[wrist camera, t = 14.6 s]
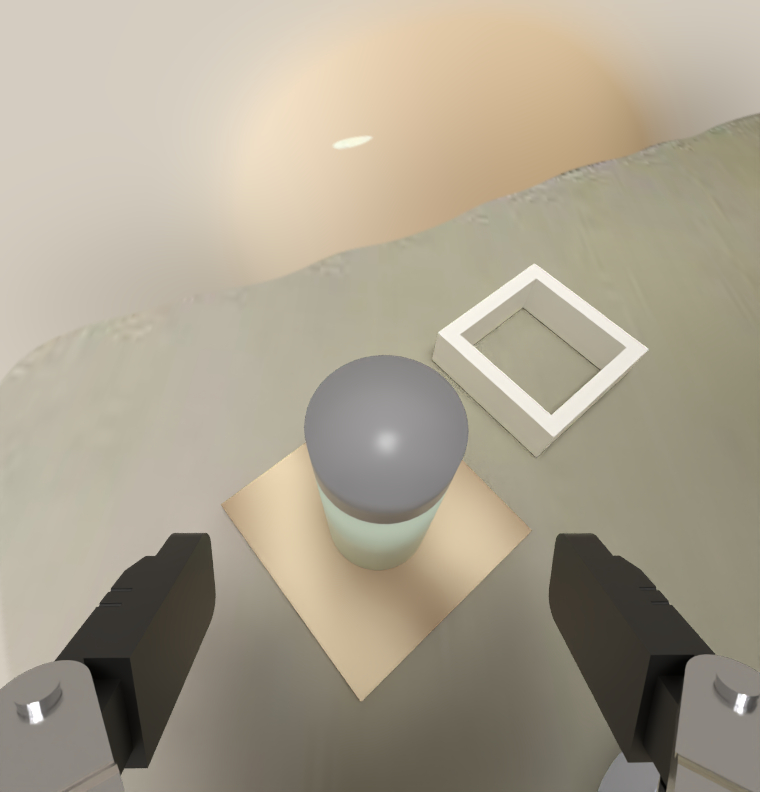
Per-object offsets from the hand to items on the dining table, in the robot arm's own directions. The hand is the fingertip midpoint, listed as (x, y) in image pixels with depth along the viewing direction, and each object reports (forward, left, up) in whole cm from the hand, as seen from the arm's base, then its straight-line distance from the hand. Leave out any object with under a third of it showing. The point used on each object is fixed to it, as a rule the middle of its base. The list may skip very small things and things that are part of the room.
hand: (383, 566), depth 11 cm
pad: (-2, -3, -11) cm, 11 cm away
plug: (-2, -3, -10) cm, 11 cm away
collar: (-14, -4, -11) cm, 18 cm away
